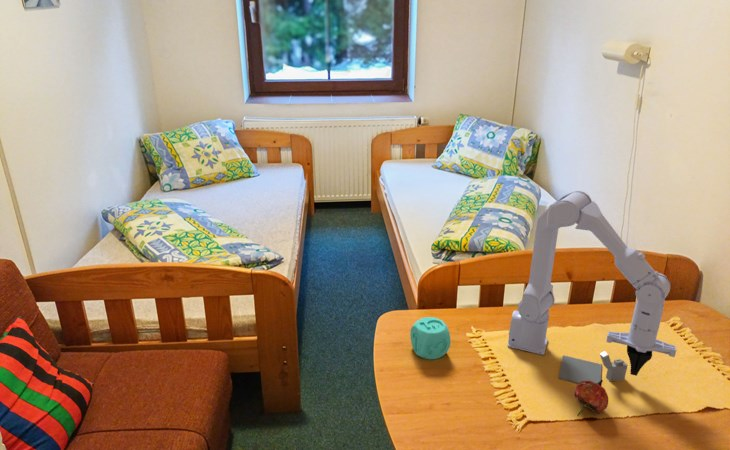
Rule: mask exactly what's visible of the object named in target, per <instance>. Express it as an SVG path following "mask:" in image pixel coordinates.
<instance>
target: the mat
mask: <svg viewBox="0 0 730 450" xmlns="http://www.w3.org/2000/svg"><path fill="white" fill-rule="evenodd" d="M561 358H562V359H561V365H560V368H559V369H560V370H559V373H558V379H560V380H563V381H566V382H571V383H575V384H578V383H579V382H581V381H592V382H594V383H599V382H600V380H602V369H603V368H602V367H603V365H602V364H603V363H598V362H593V361H590V360H585V359H580V358H575V357H572V356H568V355H564V354H563V355H562V357H561Z"/></svg>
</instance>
